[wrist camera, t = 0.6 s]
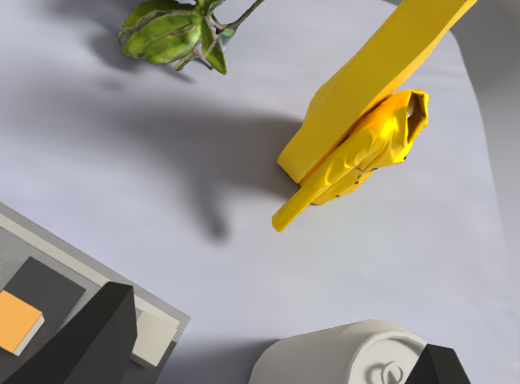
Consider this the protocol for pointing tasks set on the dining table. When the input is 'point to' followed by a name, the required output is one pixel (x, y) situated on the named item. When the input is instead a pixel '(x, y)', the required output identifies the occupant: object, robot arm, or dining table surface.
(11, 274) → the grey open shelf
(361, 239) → the dining table surface
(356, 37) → the dining table surface
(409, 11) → the figure statuette
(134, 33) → the passion flower
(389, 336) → the can
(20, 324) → the handle
